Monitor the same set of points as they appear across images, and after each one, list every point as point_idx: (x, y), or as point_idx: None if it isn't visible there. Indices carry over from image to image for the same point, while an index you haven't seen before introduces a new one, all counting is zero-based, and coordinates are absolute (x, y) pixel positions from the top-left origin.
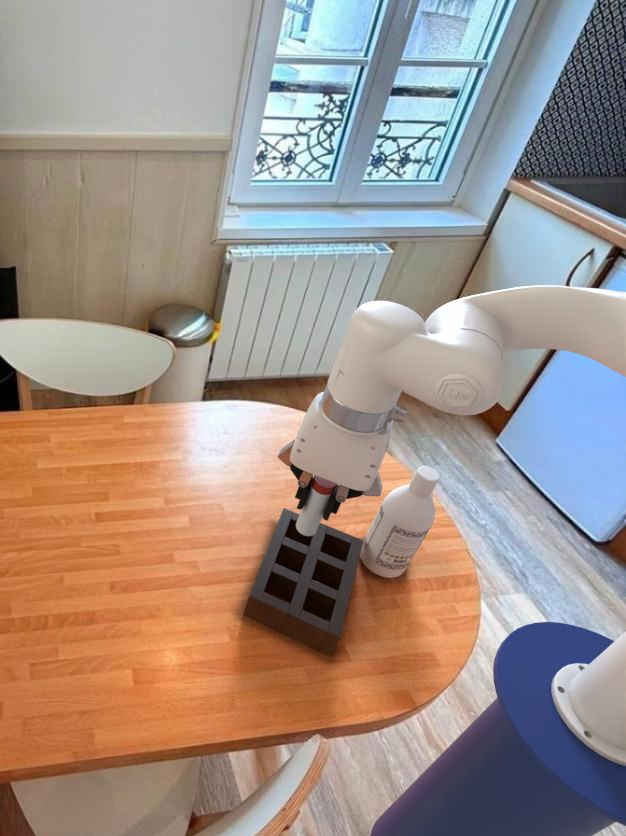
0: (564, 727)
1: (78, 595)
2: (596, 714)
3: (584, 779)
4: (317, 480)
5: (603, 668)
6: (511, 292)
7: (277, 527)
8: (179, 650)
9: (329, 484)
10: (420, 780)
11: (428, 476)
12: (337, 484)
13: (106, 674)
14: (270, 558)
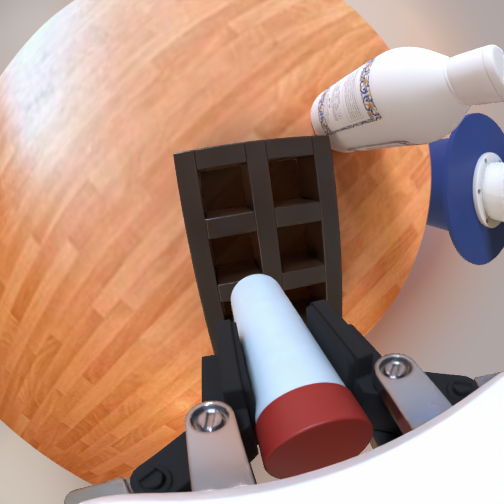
0: (476, 219)
1: (79, 398)
2: (499, 216)
3: (480, 252)
4: (289, 476)
5: None
6: None
7: (184, 208)
8: (184, 396)
9: (342, 457)
10: None
11: None
12: (360, 357)
13: (153, 434)
14: (207, 282)
